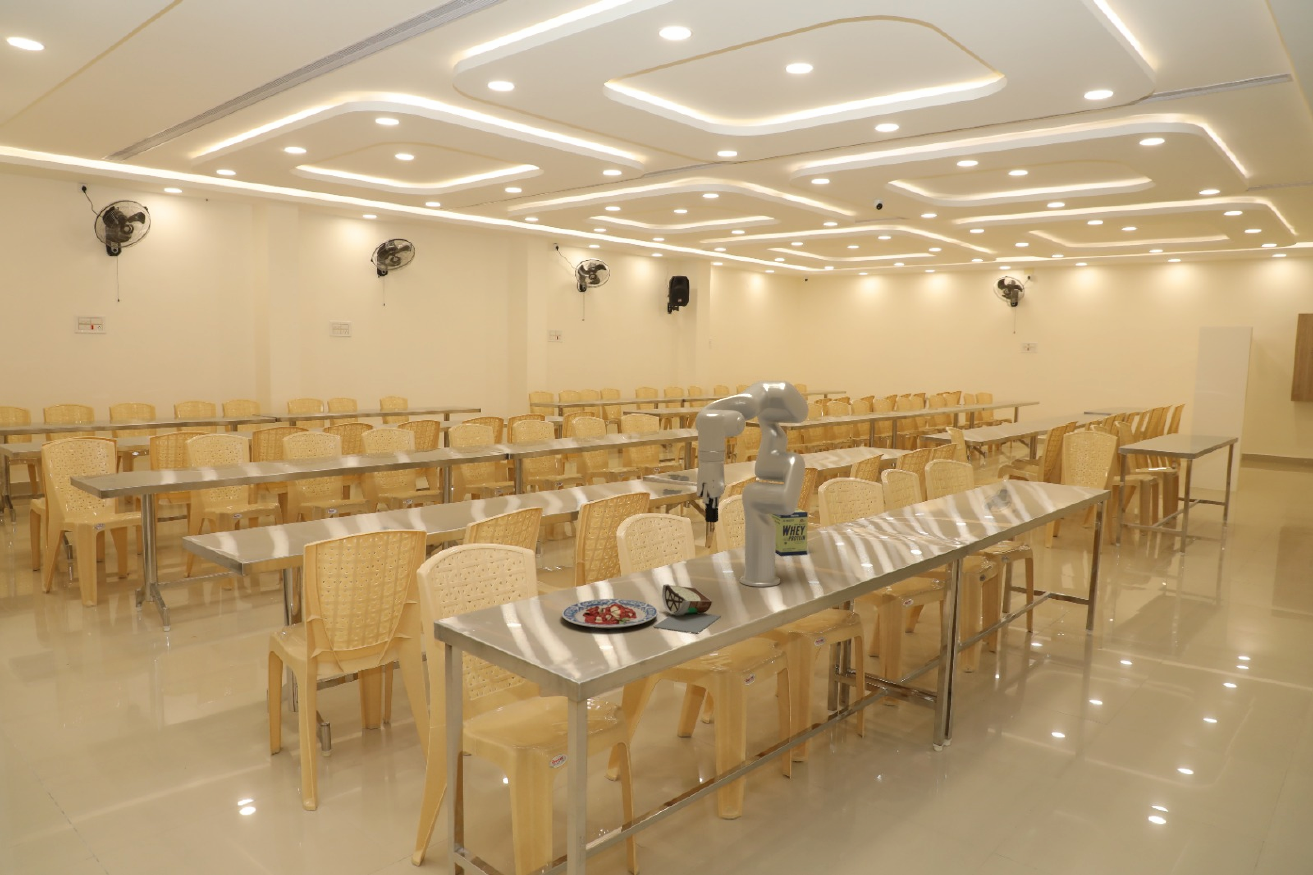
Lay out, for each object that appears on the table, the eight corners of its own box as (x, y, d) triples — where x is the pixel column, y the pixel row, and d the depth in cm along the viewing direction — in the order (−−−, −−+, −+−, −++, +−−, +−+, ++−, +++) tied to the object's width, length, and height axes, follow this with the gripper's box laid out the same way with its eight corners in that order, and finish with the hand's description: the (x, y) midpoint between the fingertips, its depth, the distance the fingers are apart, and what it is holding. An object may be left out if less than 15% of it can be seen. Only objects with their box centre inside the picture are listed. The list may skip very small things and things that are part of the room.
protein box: (780, 556, 304) (781, 513, 303) (765, 547, 319) (765, 506, 318) (807, 554, 307) (808, 512, 305) (791, 546, 322) (791, 505, 320)
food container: (687, 606, 242) (657, 604, 237) (692, 585, 241) (662, 584, 236) (709, 624, 231) (678, 623, 227) (715, 603, 231) (684, 601, 226)
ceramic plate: (551, 611, 238) (551, 601, 237) (638, 602, 247) (638, 592, 246) (576, 639, 214) (576, 627, 213) (671, 627, 223) (671, 616, 222)
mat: (678, 611, 237) (678, 610, 237) (720, 617, 231) (720, 616, 231) (653, 627, 222) (653, 626, 222) (697, 634, 217) (697, 632, 217)
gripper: (709, 453, 246) (709, 516, 247) (688, 459, 232) (688, 525, 234) (733, 454, 242) (733, 518, 244) (714, 460, 229) (714, 527, 231)
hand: (711, 521), depth 239 cm, fingers closed
